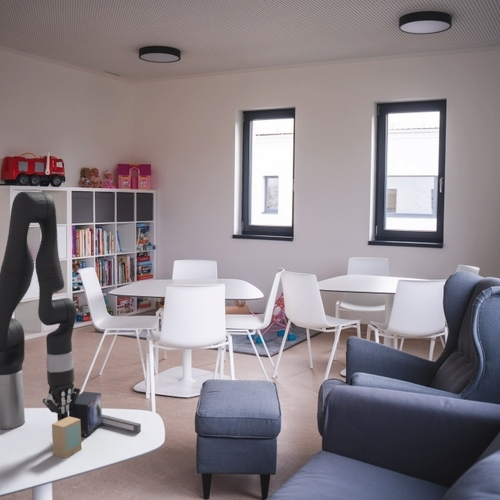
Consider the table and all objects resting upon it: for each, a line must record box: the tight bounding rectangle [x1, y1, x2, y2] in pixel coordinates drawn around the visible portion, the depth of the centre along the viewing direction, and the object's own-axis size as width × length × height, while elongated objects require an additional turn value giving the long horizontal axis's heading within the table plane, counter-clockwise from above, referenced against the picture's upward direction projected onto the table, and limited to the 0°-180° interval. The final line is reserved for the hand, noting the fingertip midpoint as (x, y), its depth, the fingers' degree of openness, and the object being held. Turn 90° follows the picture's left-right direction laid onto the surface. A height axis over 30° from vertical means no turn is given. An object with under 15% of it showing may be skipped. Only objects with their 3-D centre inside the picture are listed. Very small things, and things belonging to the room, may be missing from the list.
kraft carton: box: [51, 416, 82, 459], centre depth 187 cm, size 5×6×9 cm
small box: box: [68, 391, 103, 438], centre depth 202 cm, size 11×6×10 cm, turn 169°
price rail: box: [102, 414, 142, 434], centre depth 206 cm, size 22×2×2 cm, turn 60°
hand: (63, 424), depth 194 cm, fingers closed
